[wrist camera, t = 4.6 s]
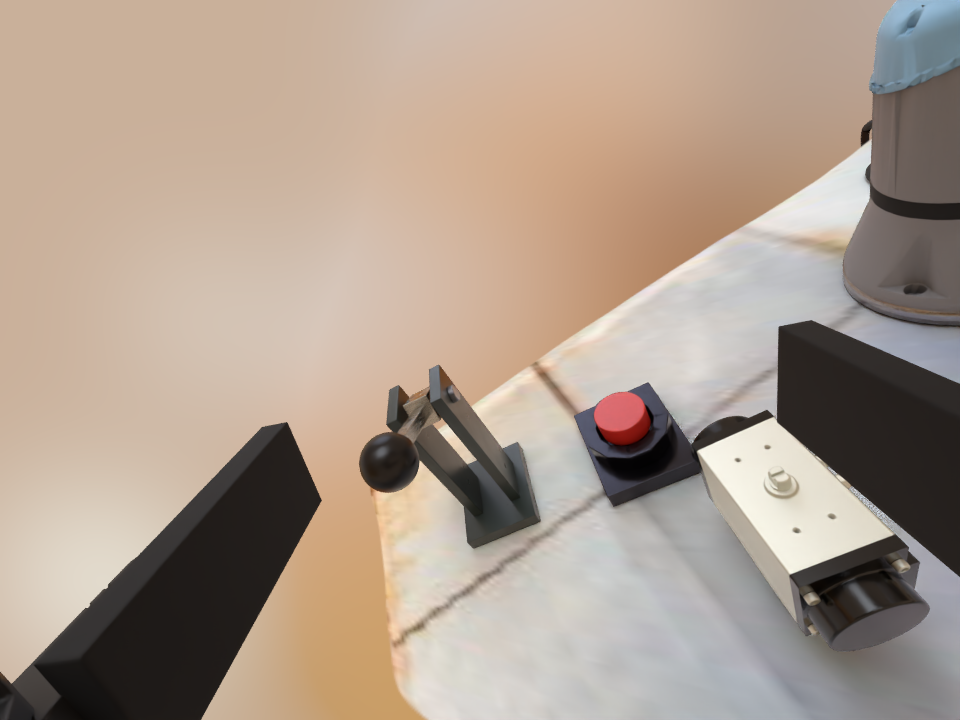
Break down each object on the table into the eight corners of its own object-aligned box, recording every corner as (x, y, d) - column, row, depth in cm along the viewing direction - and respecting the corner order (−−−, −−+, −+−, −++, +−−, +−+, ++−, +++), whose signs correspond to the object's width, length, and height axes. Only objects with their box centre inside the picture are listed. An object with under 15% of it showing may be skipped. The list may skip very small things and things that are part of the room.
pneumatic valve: (830, 694, 24) (823, 612, 17) (709, 513, 34) (674, 416, 27) (935, 659, 23) (971, 558, 17) (780, 483, 33) (763, 375, 26)
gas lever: (422, 490, 25) (391, 437, 25) (370, 513, 26) (338, 462, 25) (456, 411, 38) (436, 375, 37) (421, 428, 39) (400, 392, 38)
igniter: (659, 432, 37) (653, 417, 36) (610, 453, 38) (603, 439, 37) (638, 398, 41) (632, 384, 40) (594, 418, 41) (587, 404, 40)
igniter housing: (704, 470, 36) (696, 445, 34) (613, 507, 38) (600, 485, 36) (652, 393, 44) (643, 369, 42) (579, 425, 46) (567, 404, 44)
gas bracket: (540, 521, 40) (454, 412, 31) (473, 548, 41) (372, 451, 33) (522, 448, 47) (447, 343, 39) (465, 473, 49) (381, 378, 40)
